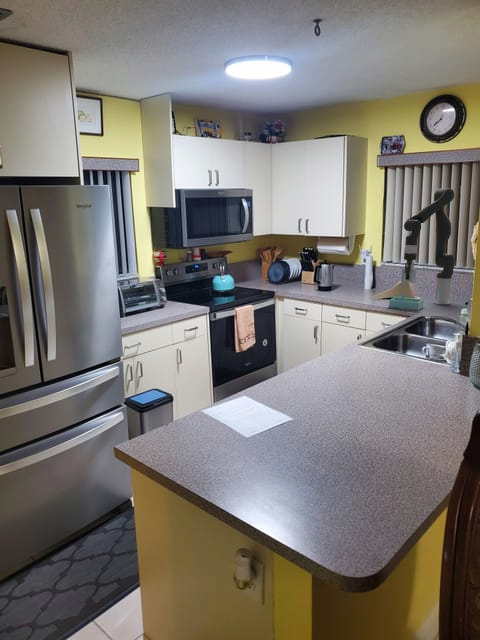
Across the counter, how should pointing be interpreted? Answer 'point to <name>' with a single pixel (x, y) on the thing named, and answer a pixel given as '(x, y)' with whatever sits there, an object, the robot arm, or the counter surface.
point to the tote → (406, 303)
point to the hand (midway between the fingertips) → (408, 279)
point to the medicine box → (411, 278)
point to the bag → (398, 291)
